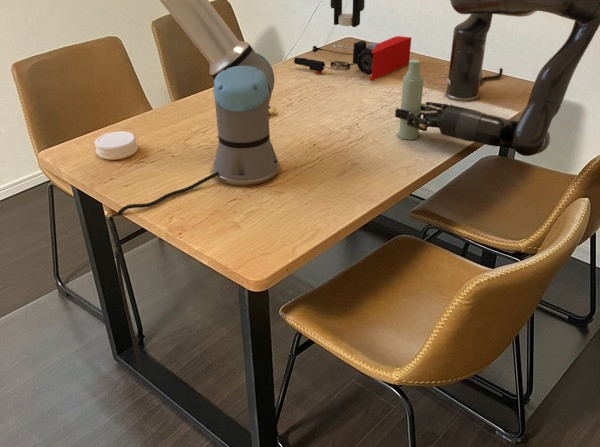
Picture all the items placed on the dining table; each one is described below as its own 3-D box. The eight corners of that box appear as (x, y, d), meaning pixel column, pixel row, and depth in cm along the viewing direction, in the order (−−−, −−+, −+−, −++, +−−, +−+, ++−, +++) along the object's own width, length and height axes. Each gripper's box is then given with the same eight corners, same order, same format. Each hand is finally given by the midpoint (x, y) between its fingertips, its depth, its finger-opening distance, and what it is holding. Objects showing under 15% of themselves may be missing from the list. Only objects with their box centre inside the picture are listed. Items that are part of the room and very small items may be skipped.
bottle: (401, 140, 159) (407, 64, 149) (396, 132, 163) (402, 58, 153) (420, 139, 160) (427, 63, 149) (415, 131, 164) (422, 57, 153)
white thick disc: (108, 164, 149) (105, 151, 148) (90, 151, 156) (87, 138, 154) (145, 152, 155) (143, 139, 153) (126, 139, 161) (123, 127, 159)
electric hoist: (292, 37, 203) (372, 52, 188) (336, 23, 221) (412, 36, 206) (292, 68, 208) (370, 85, 193) (335, 52, 226) (409, 66, 211)
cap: (358, 23, 140) (359, 15, 139) (346, 27, 137) (346, 18, 137) (347, 20, 142) (347, 12, 141) (334, 23, 140) (334, 15, 139)
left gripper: (305, -91, 128) (306, 24, 140) (381, -88, 121) (375, 32, 134) (320, -95, 133) (320, 16, 146) (395, -92, 127) (387, 24, 139)
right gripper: (477, 100, 154) (415, 87, 162) (453, 119, 144) (388, 104, 152) (473, 128, 158) (412, 113, 166) (449, 148, 148) (386, 132, 156)
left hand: (346, 24), depth 140 cm, fingers closed on cap, 4 cm apart
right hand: (401, 109), depth 159 cm, fingers closed on bottle, 5 cm apart
